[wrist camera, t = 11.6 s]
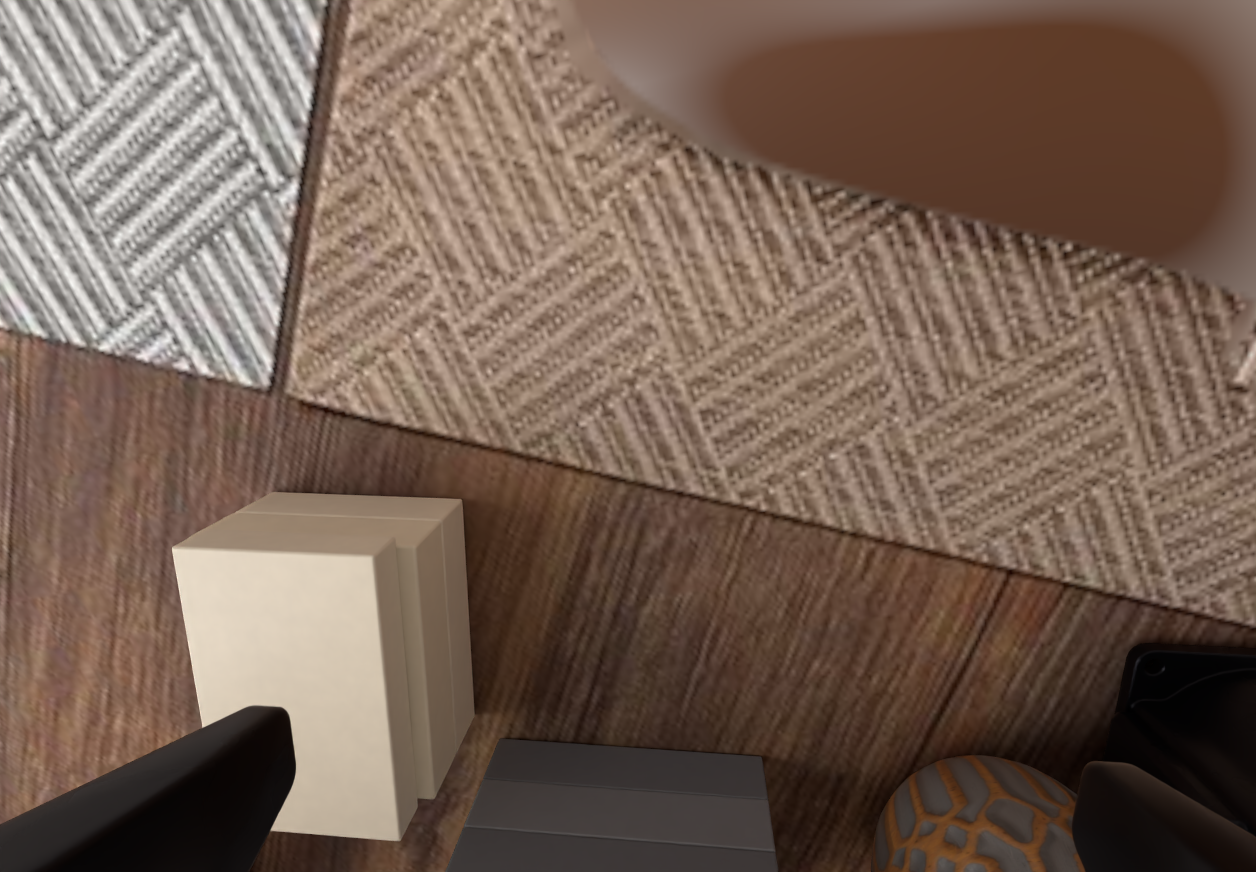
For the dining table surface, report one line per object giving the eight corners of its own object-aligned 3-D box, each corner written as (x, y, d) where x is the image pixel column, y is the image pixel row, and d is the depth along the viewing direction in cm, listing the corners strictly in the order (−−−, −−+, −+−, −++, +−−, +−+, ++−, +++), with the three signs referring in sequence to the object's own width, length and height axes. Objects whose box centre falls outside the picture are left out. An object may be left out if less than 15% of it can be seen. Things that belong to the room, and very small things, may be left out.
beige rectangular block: (463, 498, 20) (415, 546, 17) (475, 716, 22) (434, 801, 18) (272, 490, 21) (187, 536, 17) (300, 704, 22) (227, 785, 19)
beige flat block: (419, 807, 19) (401, 842, 17) (247, 793, 19) (218, 827, 18) (396, 535, 17) (374, 555, 15) (205, 527, 17) (169, 547, 16)
